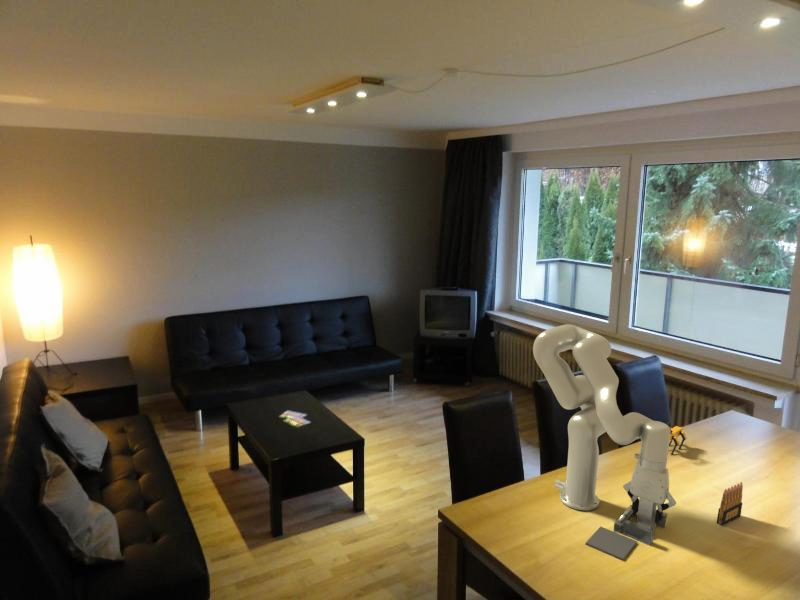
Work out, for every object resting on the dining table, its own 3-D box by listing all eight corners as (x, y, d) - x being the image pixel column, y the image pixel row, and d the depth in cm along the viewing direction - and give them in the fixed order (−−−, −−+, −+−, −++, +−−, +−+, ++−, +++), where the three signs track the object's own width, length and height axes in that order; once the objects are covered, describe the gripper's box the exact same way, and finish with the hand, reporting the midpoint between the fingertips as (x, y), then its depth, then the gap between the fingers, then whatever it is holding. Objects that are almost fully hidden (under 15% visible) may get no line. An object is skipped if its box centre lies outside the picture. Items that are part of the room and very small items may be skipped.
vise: (613, 530, 175) (614, 518, 175) (629, 511, 186) (631, 500, 185) (650, 545, 168) (652, 533, 168) (665, 525, 179) (667, 513, 178)
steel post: (634, 532, 175) (638, 496, 172) (642, 522, 180) (646, 487, 178) (647, 537, 172) (651, 501, 170) (655, 527, 178) (659, 492, 175)
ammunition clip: (734, 513, 186) (740, 479, 184) (740, 516, 184) (745, 482, 182) (716, 523, 180) (721, 488, 178) (722, 526, 179) (727, 491, 177)
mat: (585, 544, 168) (585, 542, 168) (600, 528, 177) (600, 526, 176) (623, 560, 161) (623, 558, 161) (636, 543, 170) (637, 541, 169)
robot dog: (652, 455, 225) (655, 423, 223) (671, 442, 237) (675, 411, 235) (666, 460, 221) (670, 428, 219) (685, 447, 233) (689, 416, 230)
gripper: (619, 457, 174) (613, 511, 178) (679, 477, 163) (672, 533, 167) (628, 449, 180) (622, 501, 184) (687, 467, 169) (680, 522, 173)
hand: (646, 516), depth 175 cm, fingers open, 5 cm apart
